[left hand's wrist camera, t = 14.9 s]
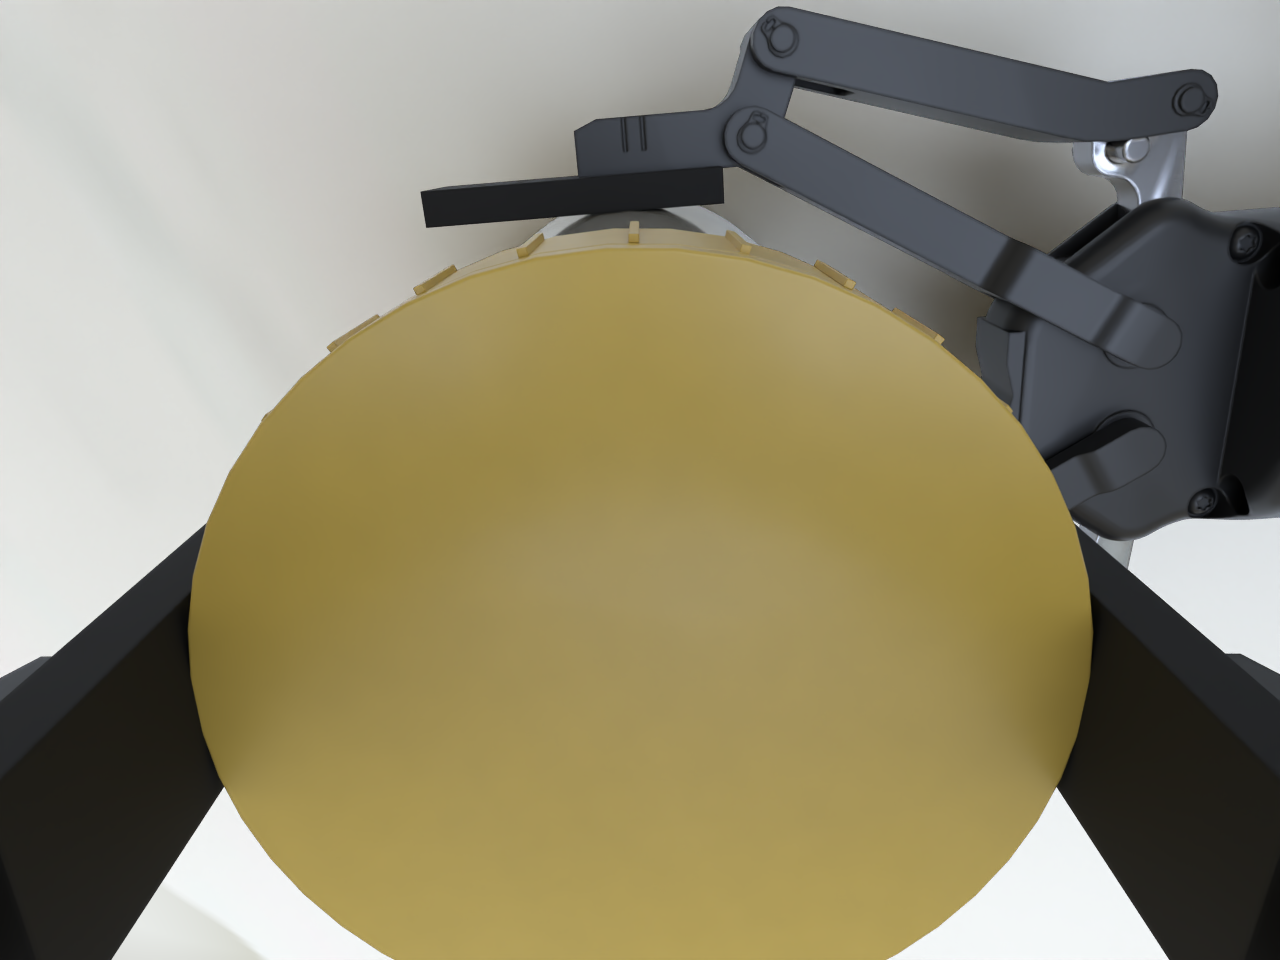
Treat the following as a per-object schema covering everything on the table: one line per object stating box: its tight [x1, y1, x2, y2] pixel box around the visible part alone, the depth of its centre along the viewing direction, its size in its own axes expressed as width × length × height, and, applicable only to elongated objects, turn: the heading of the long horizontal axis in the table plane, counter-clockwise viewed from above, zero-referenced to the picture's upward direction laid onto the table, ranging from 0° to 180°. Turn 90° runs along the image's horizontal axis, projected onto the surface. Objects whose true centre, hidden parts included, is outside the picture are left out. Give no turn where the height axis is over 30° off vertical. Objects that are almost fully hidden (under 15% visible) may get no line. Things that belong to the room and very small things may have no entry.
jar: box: [523, 205, 760, 246], centre depth 19 cm, size 10×10×18 cm
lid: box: [188, 221, 1093, 960], centre depth 11 cm, size 11×11×2 cm
